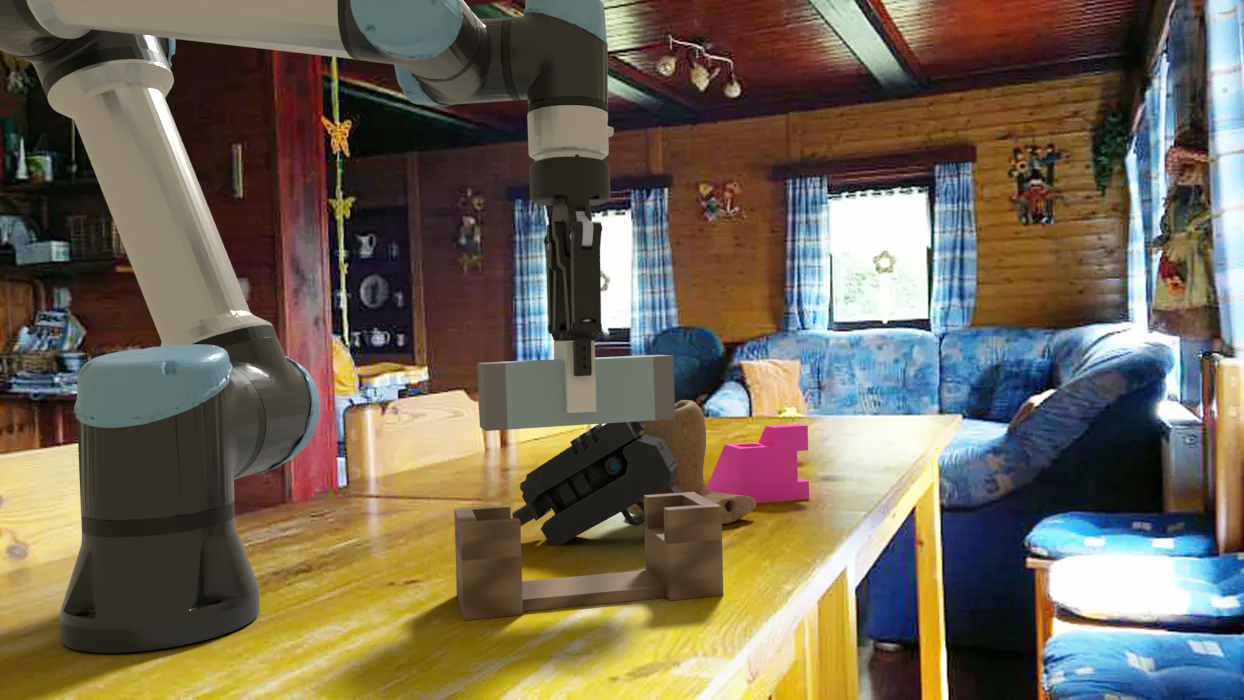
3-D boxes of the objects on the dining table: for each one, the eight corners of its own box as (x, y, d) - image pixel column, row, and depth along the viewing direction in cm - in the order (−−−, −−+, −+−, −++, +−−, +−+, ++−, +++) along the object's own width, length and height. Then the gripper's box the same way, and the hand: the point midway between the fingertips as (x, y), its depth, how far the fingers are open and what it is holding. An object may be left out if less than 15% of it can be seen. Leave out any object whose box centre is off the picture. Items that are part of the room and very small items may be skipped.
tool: (702, 523, 102) (631, 403, 103) (555, 606, 105) (488, 489, 107) (708, 512, 108) (641, 399, 109) (569, 590, 111) (506, 480, 113)
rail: (485, 431, 85) (483, 364, 84) (479, 426, 88) (477, 362, 88) (675, 418, 90) (673, 355, 89) (661, 415, 93) (659, 354, 93)
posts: (463, 620, 79) (460, 525, 79) (456, 594, 87) (454, 508, 86) (723, 595, 84) (721, 506, 84) (695, 573, 92) (693, 491, 92)
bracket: (809, 499, 131) (807, 425, 130) (741, 505, 128) (739, 429, 127) (770, 486, 142) (769, 418, 142) (707, 491, 139) (705, 422, 139)
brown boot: (604, 522, 118) (601, 402, 118) (660, 507, 127) (657, 396, 127) (706, 536, 109) (703, 406, 108) (758, 518, 118) (756, 399, 118)
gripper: (634, 144, 81) (639, 415, 82) (586, 176, 98) (591, 402, 98) (548, 141, 79) (554, 419, 80) (514, 174, 95) (520, 405, 96)
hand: (575, 409), depth 89 cm, fingers closed on rail, 4 cm apart
